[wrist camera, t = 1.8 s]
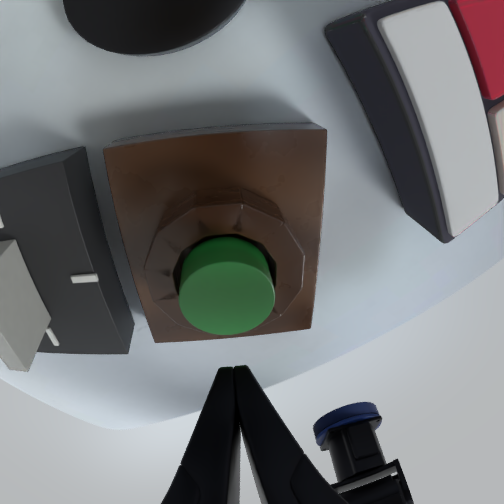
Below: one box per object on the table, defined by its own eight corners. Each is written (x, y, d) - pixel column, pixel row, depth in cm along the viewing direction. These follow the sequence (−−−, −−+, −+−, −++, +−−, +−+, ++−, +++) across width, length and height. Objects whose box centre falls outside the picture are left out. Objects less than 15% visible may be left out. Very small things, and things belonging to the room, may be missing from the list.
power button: (268, 302, 14) (275, 330, 13) (188, 309, 14) (187, 338, 12) (268, 232, 12) (275, 257, 11) (175, 240, 12) (170, 266, 10)
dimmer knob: (51, 318, 14) (27, 376, 11) (33, 318, 14) (7, 373, 10) (15, 238, 11) (-28, 292, 8) (-4, 241, 11) (-46, 292, 8)
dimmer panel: (136, 323, 18) (129, 356, 16) (24, 325, 17) (11, 352, 15) (87, 145, 12) (62, 161, 10) (-37, 182, 11) (-63, 201, 9)
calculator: (579, 137, 10) (452, 256, 12) (536, 120, 14) (405, 217, 16) (542, -22, 4) (367, 9, 7) (494, -21, 8) (319, 27, 10)
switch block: (304, 309, 19) (319, 352, 16) (157, 322, 18) (151, 368, 15) (315, 122, 13) (344, 138, 10) (114, 140, 12) (86, 161, 9)
